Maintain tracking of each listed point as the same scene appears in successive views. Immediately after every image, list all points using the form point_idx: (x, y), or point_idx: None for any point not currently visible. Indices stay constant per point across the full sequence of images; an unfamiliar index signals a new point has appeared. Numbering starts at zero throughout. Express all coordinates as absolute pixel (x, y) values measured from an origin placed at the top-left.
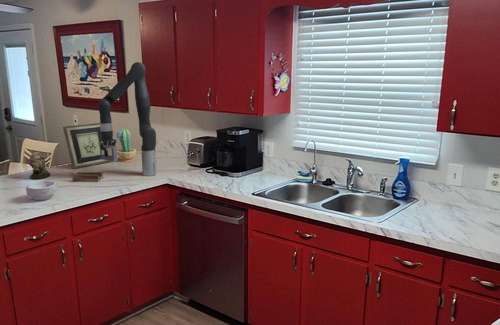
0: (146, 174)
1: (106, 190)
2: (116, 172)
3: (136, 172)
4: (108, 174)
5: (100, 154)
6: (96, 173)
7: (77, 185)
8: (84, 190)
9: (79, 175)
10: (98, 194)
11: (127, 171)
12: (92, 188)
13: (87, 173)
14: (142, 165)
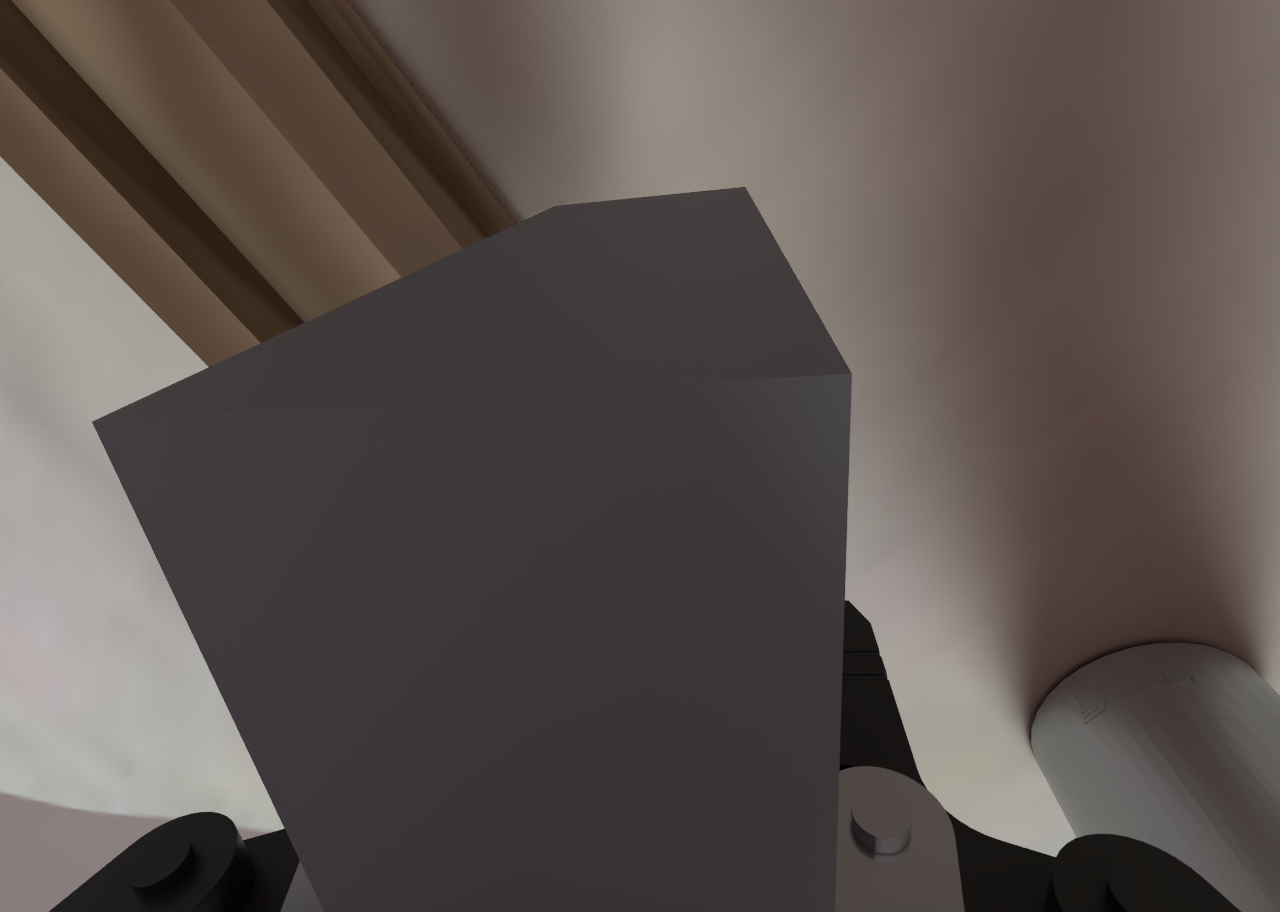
0: (1040, 765)
1: (260, 780)
2: (1045, 145)
3: (1201, 487)
4: (810, 150)
5: (496, 233)
6: (406, 273)
7: (25, 350)
8: (52, 613)
9: (13, 169)
10: (138, 806)
11: (1226, 281)
12: (161, 623)
13: (253, 90)
14: (1148, 835)
